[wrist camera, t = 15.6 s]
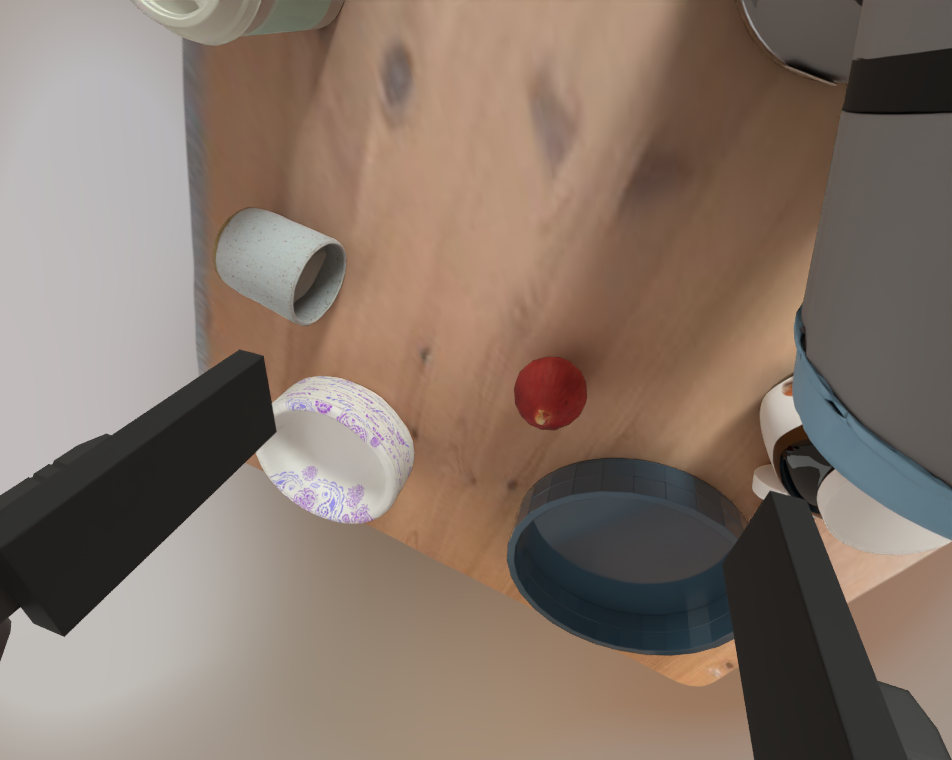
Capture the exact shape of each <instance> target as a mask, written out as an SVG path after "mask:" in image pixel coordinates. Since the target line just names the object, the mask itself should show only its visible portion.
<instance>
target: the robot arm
mask: <svg viewBox="0 0 952 760" xmlns="http://www.w3.org/2000/svg"><path fill="white" fill-rule="evenodd" d="M735 1H736V4H737V7H738V10H739V13H740V16H741V18H742V20H743V23H744V25H745V27H746V29H747V31H748V32H749V34H750V35H751V37H752V39H753V40H754V41H755V43H756V44H757V45H758V46H759V48H760V49H761V50H762V51H763V52H764V53H765V54H766V55H767V56H768V57H769V58H770V59H772V60H773V61H774V62H776V63H777V64H778V65H780V66H781V67H783V68H785V69H787V70H788V71H790V72H792V73H794V74H797V75H799V76H802V77H805V78H808V79H812V80H816V81H820V82H824V83H826V84H829V85H832V86H838V85H836V84H833V83H842V84H848V85H847V90H846V95H845V101H844V105H843V107H842V110H841V115H840V120H839V125H838V130H837V135H836V140H835V145H834V150H833V155H832V160H831V165H830V170H829V175H828V180H827V185H826V190H825V195H824V200H823V205H822V210H821V215H820V220H819V225H818V230H817V235H816V240H815V245H814V250H813V255H812V260H811V265H810V270H809V275H808V280H807V285H806V290H805V295H804V300H803V303H802V305H801V306H800V308H799V309H798V311H797V313H796V317H795V323H794V339H795V343H796V347H797V352H796V360H795V368H794V376H793V385H792V395H793V401H794V407H795V409H796V411H797V413H798V414H799V416H800V419H801V422H802V425H803V428H804V431H805V432H806V434H807V435H808V437H809V439H810V441H811V442H812V443H813V445H814V446H815V447H816V448H817V450H818V451H819V452H820V453H821V455H822V456H823V457H824V458H825V459H826V460H827V461H828V462H829V463H830V464H831V465H832V466H833V467H834V468H835V469H836V470H837V471H838V472H839V473H840V474H841V475H842V476H844V477H845V478H846V479H847V480H848V481H850V482H851V483H852V484H853V485H855V486H856V487H857V488H859V489H860V490H861V491H863V492H864V493H866V494H867V495H869V496H870V497H872V498H873V499H875V500H876V501H877V502H879V503H880V504H882V505H883V506H885V507H886V508H888V509H890V510H891V511H893V512H895V513H897V514H898V515H900V516H902V517H904V518H906V519H908V520H909V521H911V522H913V523H915V524H917V525H919V526H921V527H923V528H925V529H927V530H929V531H931V532H933V533H936V534H938V535H940V536H942V537H944V538H947V539H949V540H952V0H735ZM276 432H277V430H276V424H275V419H274V413H273V407H272V401H271V396H270V390H269V384H268V379H267V373H266V367H265V362H264V356H262V355H258V354H255V353H251V352H247V351H243V350H238V351H237V352H235V353H234V354H232V355H231V356H229V357H228V358H226V359H225V360H223V361H222V362H220V363H219V364H217V365H216V366H214V367H213V368H211V369H210V370H208V371H207V372H205V373H204V374H202V375H201V376H199V377H198V378H196V379H195V380H193V381H192V382H190V383H189V384H188V385H186V386H184V387H183V388H181V389H180V390H178V391H177V392H175V393H174V394H173V395H171V396H170V397H168V398H167V399H165V400H164V401H162V402H161V403H159V404H158V405H156V406H155V407H153V408H152V409H150V410H149V411H147V412H146V413H144V414H143V415H141V416H140V417H138V418H137V419H135V420H134V421H132V422H131V423H129V424H128V425H126V426H125V427H123V428H122V429H120V430H119V431H117V432H116V433H114V434H113V435H109V434H104V435H102V436H99V437H97V438H95V439H92V440H90V441H87V442H85V443H82V444H80V445H78V446H76V447H74V448H73V449H71V450H70V451H68V452H67V453H65V454H64V455H62V456H61V457H59V458H57V459H56V460H54V463H53V464H52V465H50V464H48V465H47V466H45V467H44V468H42V469H41V470H39V471H37V472H36V473H34V475H33V477H32V478H29V477H28V478H27V479H25V480H24V481H22V482H21V483H19V484H18V485H16V486H14V487H13V488H11V489H10V490H8V491H7V492H5V493H3V494H2V495H0V660H1V657H2V655H3V652H4V649H5V646H6V643H7V640H8V637H9V635H10V631H11V621H10V619H9V618H8V617H9V616H10V615H12V614H13V613H14V612H15V611H16V610H17V609H19V608H20V607H21V608H22V609H23V610H24V612H25V613H26V614H27V616H28V617H29V618H30V620H31V621H32V622H33V623H34V624H36V625H38V626H40V627H43V628H45V629H47V630H50V631H52V632H54V633H57V634H59V635H61V636H64V637H65V636H66V635H67V634H68V633H69V632H70V631H71V630H72V629H73V628H74V627H75V626H76V625H77V624H78V623H79V622H80V621H81V620H82V619H83V618H84V617H85V616H86V615H87V614H88V613H89V612H91V611H92V609H94V608H95V607H96V606H97V605H98V604H99V603H100V602H101V601H102V600H103V599H104V598H105V597H106V596H107V595H108V594H109V593H110V592H111V591H112V590H113V589H114V588H115V587H116V586H118V585H119V584H120V583H121V582H122V581H123V580H124V579H125V578H126V577H127V576H128V575H129V574H130V573H131V572H132V571H133V570H134V569H135V568H136V567H137V566H138V565H139V564H140V563H141V562H142V561H143V560H144V559H146V557H147V556H149V555H150V553H152V552H153V551H154V550H155V549H156V548H157V547H158V546H159V545H160V544H161V543H162V542H163V541H164V540H165V539H166V538H167V537H168V536H169V535H170V534H171V533H172V532H174V530H175V529H177V528H178V526H180V525H181V524H182V523H183V522H184V521H185V520H186V519H187V518H188V517H189V516H190V515H191V514H192V513H193V512H194V511H195V510H196V509H197V508H198V507H199V506H200V505H201V504H203V503H204V502H205V501H206V499H208V498H209V497H210V496H211V495H212V494H213V493H214V492H215V491H216V490H217V489H218V488H219V487H220V486H221V485H222V484H223V483H224V482H225V481H226V480H227V479H228V478H229V477H231V476H232V475H233V474H234V473H235V472H236V471H237V470H238V469H239V468H240V467H241V466H242V465H243V464H244V463H245V462H246V461H247V460H248V459H249V458H250V457H251V456H252V455H253V454H254V453H255V452H257V451H258V450H259V449H260V448H261V447H262V446H263V445H264V444H265V443H266V442H267V441H268V440H269V439H270V438H271V437H272V436H273V435H274V434H275V433H276ZM722 567H723V573H724V579H725V585H726V591H727V598H728V604H729V610H730V616H731V622H732V628H733V634H734V640H735V646H736V652H737V658H738V664H739V670H740V676H741V681H742V688H743V694H744V700H745V706H746V712H747V718H748V724H749V731H750V736H751V743H752V748H753V754H754V760H951V758H950V755H949V753H948V751H947V749H946V746H945V744H944V742H943V740H942V738H941V736H940V733H939V731H938V729H937V728H936V726H935V725H934V724H933V722H932V721H931V720H930V718H929V717H928V716H927V715H926V713H925V712H924V711H923V709H922V708H921V707H920V705H919V704H918V703H917V701H916V700H915V699H914V697H913V696H912V695H911V694H910V692H909V691H908V690H904V689H902V688H898V687H895V686H892V685H889V684H886V683H883V682H880V681H877V679H876V676H875V674H874V671H873V669H872V666H871V664H870V661H869V658H868V656H867V653H866V651H865V648H864V646H863V643H862V641H861V638H860V635H859V633H858V630H857V628H856V625H855V623H854V620H853V618H852V615H851V613H850V610H849V607H848V605H847V602H846V600H845V597H844V595H843V592H842V590H841V587H840V584H839V582H838V579H837V577H836V574H835V572H834V569H833V567H832V564H831V561H830V559H829V556H828V554H827V551H826V549H825V546H824V544H823V541H822V538H821V536H820V533H819V531H818V528H817V526H816V523H815V521H814V518H813V515H812V513H811V510H810V508H809V505H808V503H807V500H804V499H800V498H797V497H793V496H789V495H785V494H782V493H778V492H774V491H769V493H768V494H767V496H766V497H765V499H764V500H763V502H762V503H761V505H760V506H759V508H758V510H757V511H756V513H755V514H754V516H753V517H752V519H751V520H750V522H749V523H748V525H747V526H746V528H745V530H744V531H743V533H742V534H741V536H740V537H739V539H738V540H737V542H736V543H735V545H734V547H733V548H732V550H731V551H730V553H729V554H728V556H727V557H726V559H725V560H724V562H723V564H722Z"/></svg>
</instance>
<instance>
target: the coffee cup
mask: <svg viewBox="0 0 952 760" xmlns="http://www.w3.org/2000/svg"><path fill="white" fill-rule="evenodd" d="M131 1H132V2H133V3H134V4H135V5H136V6H137V7H138V8H139V9H140V10H141V11H142V12H143V13H144V14H146V15H147V16H148V17H150V18H151V19H153V20H154V21H156V22H158V23H160V24H162V25H163V26H165V27H166V28H167V29H169V30H170V31H172V32H173V33H175V34H177V35H179V36H181V37H183V38H185V39H188V40H191V41H194V42H197V43H200V44H204V45H222V44H226V43H229V42H231V41H233V40H235V39H237V38H238V37H239V36H251V35H262V34H273V33H284V32H295V31H305V30H314V29H320V28H323V27H325V26H327V25H329V24H330V23H331V22H332V21H333V20H334V19H335V18H336V16H337V15H338V13H339V11H340V9H341V7H342V4H343V1H344V0H131Z"/></svg>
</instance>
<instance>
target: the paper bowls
mask: <svg viewBox="0 0 952 760" xmlns="http://www.w3.org/2000/svg"><path fill="white" fill-rule="evenodd" d="M272 407H273V413H274V419H275V424H276V430H277V432H276V433H275V434H274V435H273V436H272V437H271V438H270V439H269V440H268V441H267V442H266V443H265V444H264V445H263V446H262V447H261V448H260V449H259V450H258V451H257V452H256V455H257V457H258V460H259V462H260V464H261V466H262V468H263V469H264V471H265V473H266V474H267V476H268V477H269V478H270V480H271V481H272V482H273V483H274V485H275V486H276V487H277V488H278V489H279V490H280V491H281V492H282V493H283V494H284V495H286V496H287V497H288V498H289V499H290V500H292V501H293V502H294V503H296V504H297V505H299V506H300V507H302V508H303V509H305V510H307V511H309V512H311V513H313V514H315V515H317V516H320V517H322V518H325V519H328V520H331V521H335V522H340V523H350V524H355V523H365V522H369V521H372V520H374V519H377V518H379V517H380V516H382V515H383V514H385V513H386V512H387V511H388V510H389V509H390V508H391V506H392V505H393V503H394V501H395V500H396V498H397V496H398V494H399V492H400V491H401V489H402V488H403V486H404V484H405V482H406V480H407V479H408V477H409V475H410V473H411V471H412V468H413V463H414V445H413V440H412V438H411V436H410V433H409V431H408V429H407V427H406V426H405V424H404V423H403V422H402V420H401V419H400V418H399V416H398V415H397V413H396V412H395V411H394V410H393V409H392V408H391V407H390V406H389V405H388V404H387V403H386V401H384V400H383V399H382V398H381V397H380V396H378V395H377V394H375V393H374V392H372V391H370V390H368V389H367V388H365V387H363V386H361V385H358V384H356V383H354V382H351V381H348V380H344V379H342V378H337V377H328V376H316V377H309V378H306V379H303V380H300V381H298V382H296V383H295V384H294V385H293V386H291V387H290V388H289V389H288V390H286V391H285V392H284V393H283V394H282V395H281V396H279V397H278V398H277V399H276V400H275V401H274V402H273V403H272Z"/></svg>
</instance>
